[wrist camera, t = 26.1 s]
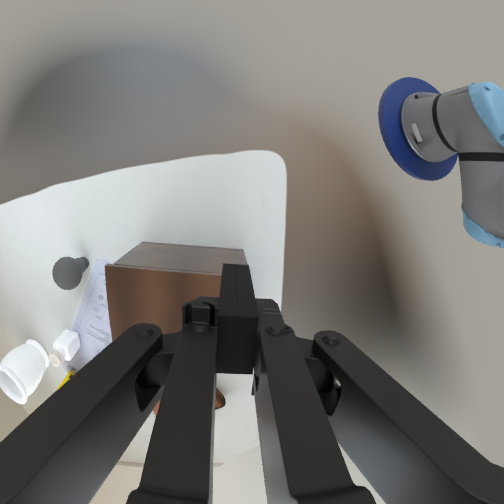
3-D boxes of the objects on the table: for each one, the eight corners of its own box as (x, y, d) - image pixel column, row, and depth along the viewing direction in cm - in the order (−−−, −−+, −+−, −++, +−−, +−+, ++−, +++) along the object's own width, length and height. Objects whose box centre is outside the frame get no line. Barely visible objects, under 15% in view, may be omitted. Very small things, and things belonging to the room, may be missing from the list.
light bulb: (100, 255, 45) (75, 272, 35) (93, 280, 46) (68, 300, 36) (78, 242, 44) (50, 256, 34) (71, 267, 45) (44, 284, 35)
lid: (116, 350, 35) (114, 353, 34) (106, 263, 32) (104, 265, 31) (240, 362, 37) (241, 366, 36) (250, 275, 34) (250, 277, 33)
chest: (143, 311, 48) (121, 350, 35) (142, 241, 45) (112, 263, 32) (236, 319, 50) (240, 362, 37) (243, 249, 47) (250, 275, 34)
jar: (18, 333, 47) (-14, 363, 33) (43, 336, 48) (10, 369, 33) (33, 368, 50) (7, 400, 35) (58, 372, 51) (33, 408, 36)
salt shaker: (79, 332, 48) (60, 355, 39) (81, 346, 49) (63, 371, 40) (65, 327, 48) (44, 349, 39) (67, 342, 49) (48, 365, 40)
